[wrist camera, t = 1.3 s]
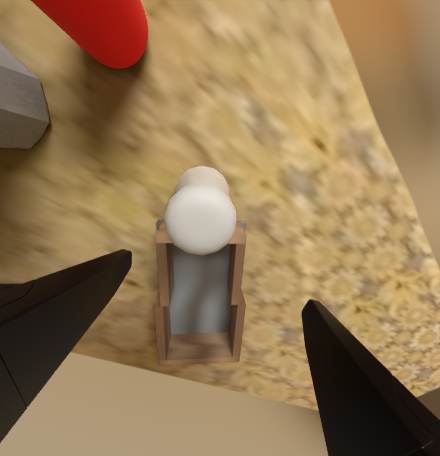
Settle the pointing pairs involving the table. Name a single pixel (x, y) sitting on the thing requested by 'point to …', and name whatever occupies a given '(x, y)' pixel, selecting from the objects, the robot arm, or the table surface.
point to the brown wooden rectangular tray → (199, 302)
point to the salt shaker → (200, 212)
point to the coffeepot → (20, 104)
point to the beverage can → (102, 27)
